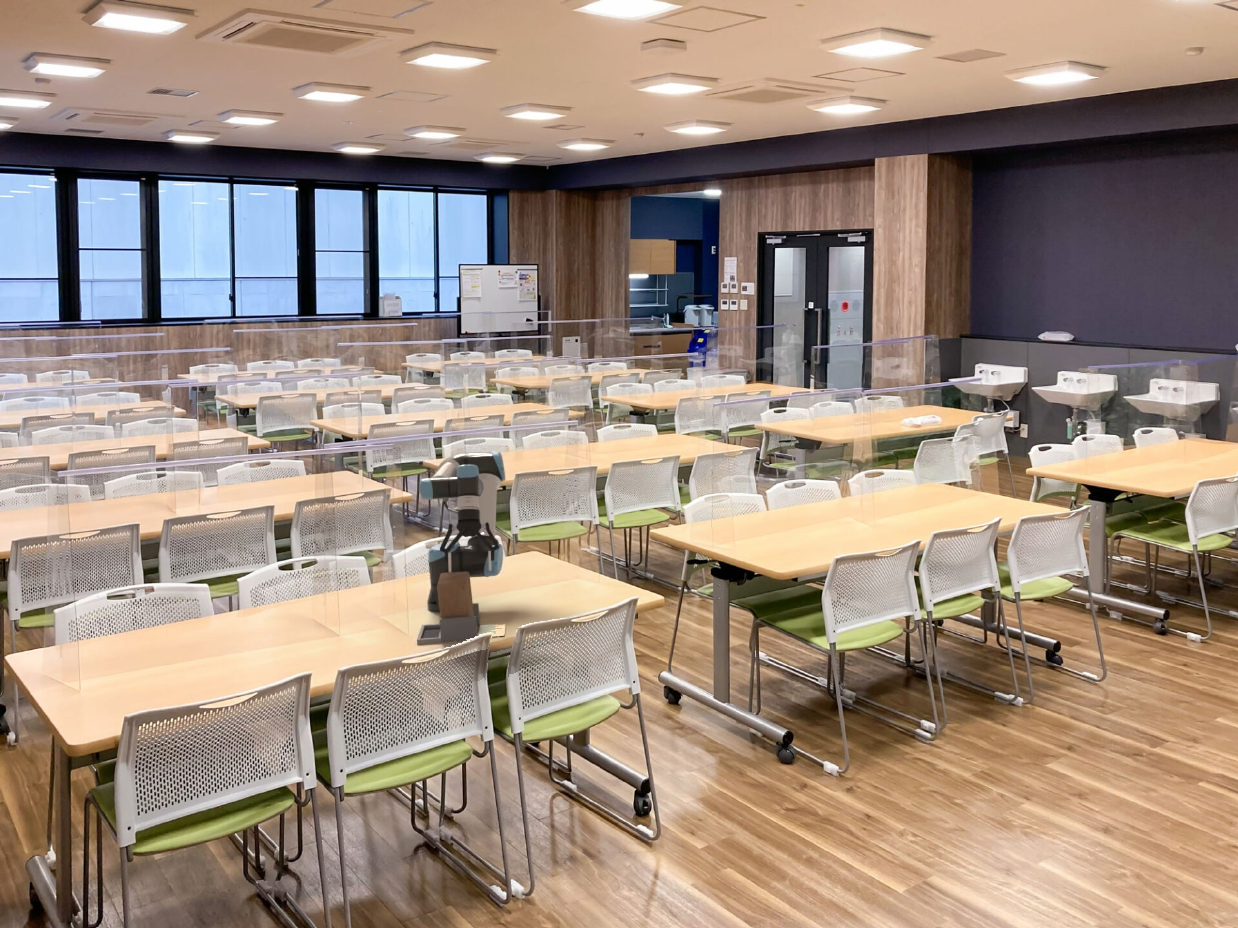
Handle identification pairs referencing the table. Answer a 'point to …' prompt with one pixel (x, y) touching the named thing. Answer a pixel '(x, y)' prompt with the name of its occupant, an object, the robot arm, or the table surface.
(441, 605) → the wooden block
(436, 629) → the pit trap
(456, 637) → the channel
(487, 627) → the pad
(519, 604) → the table surface
